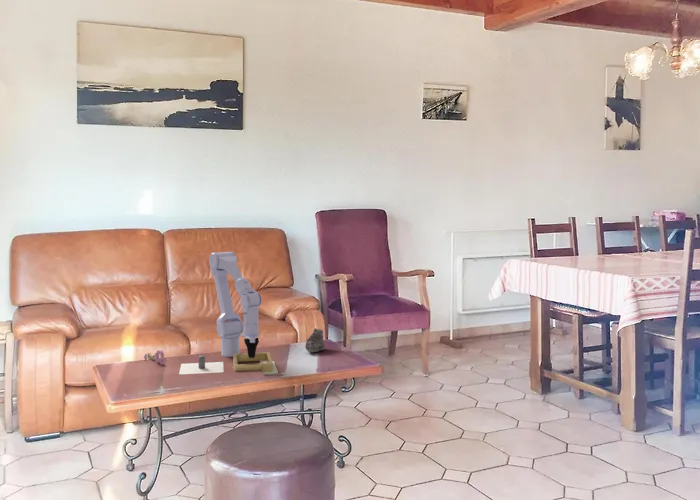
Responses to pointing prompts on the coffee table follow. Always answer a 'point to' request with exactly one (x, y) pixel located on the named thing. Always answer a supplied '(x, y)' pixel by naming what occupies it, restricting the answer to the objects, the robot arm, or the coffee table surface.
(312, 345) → the mineral rock
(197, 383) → the coffee table surface
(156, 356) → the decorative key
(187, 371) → the post stand
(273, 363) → the mat
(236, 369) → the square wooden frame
